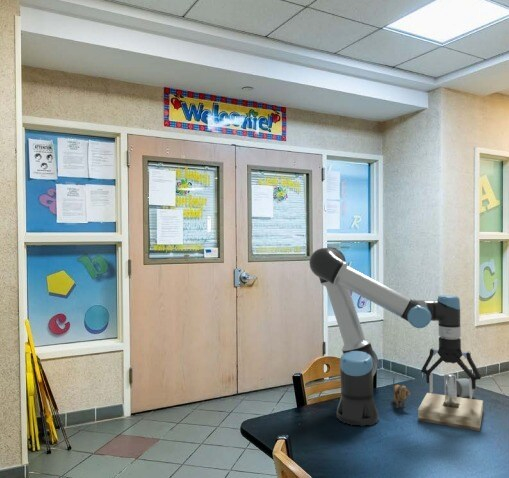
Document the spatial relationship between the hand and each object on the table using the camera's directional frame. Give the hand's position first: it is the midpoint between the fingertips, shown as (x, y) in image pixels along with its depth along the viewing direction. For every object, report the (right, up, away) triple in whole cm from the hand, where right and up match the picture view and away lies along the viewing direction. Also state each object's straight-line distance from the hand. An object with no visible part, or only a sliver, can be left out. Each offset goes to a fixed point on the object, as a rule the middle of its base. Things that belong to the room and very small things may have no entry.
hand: (450, 394), depth 167 cm
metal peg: (0, -7, 0) cm, 7 cm away
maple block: (0, -8, 0) cm, 8 cm away
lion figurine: (-15, -8, +12) cm, 21 cm away
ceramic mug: (+13, -8, +21) cm, 25 cm away
